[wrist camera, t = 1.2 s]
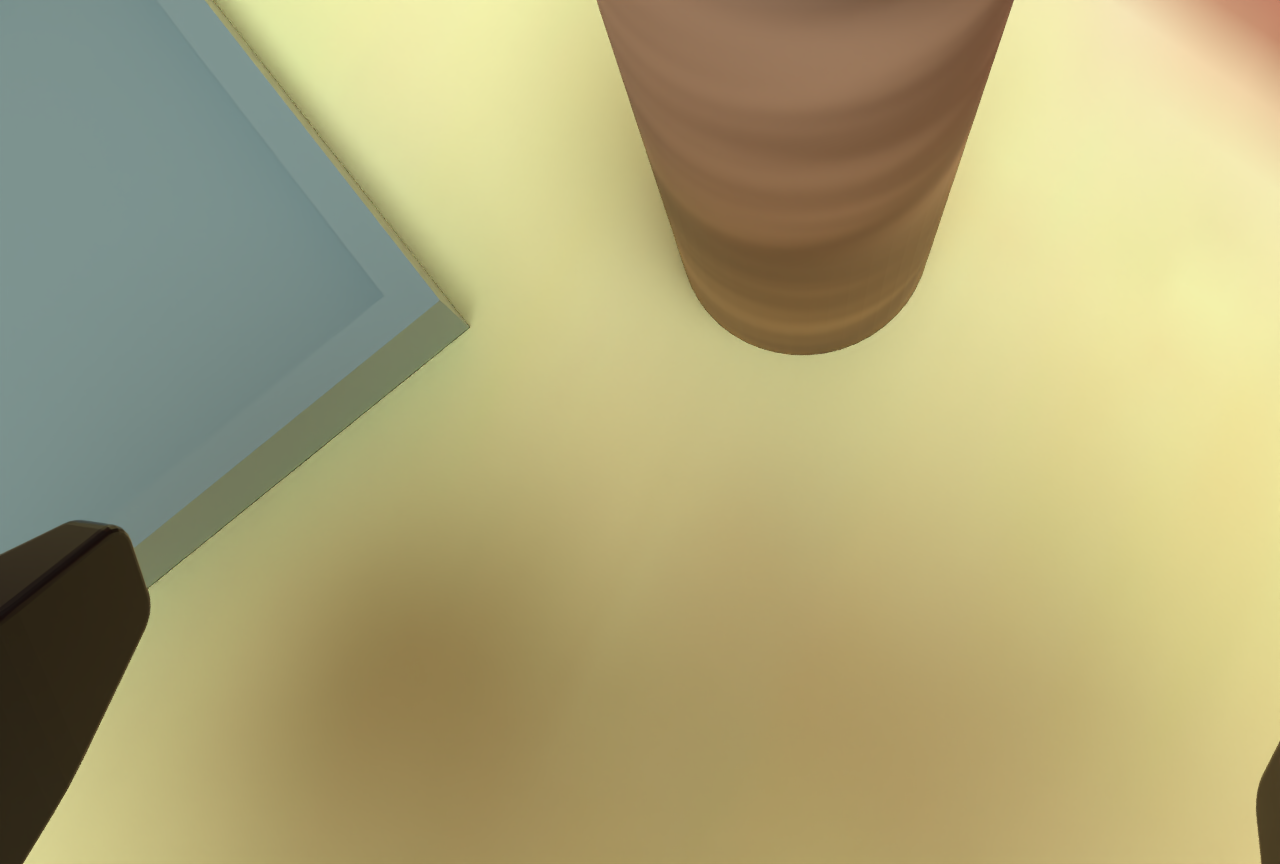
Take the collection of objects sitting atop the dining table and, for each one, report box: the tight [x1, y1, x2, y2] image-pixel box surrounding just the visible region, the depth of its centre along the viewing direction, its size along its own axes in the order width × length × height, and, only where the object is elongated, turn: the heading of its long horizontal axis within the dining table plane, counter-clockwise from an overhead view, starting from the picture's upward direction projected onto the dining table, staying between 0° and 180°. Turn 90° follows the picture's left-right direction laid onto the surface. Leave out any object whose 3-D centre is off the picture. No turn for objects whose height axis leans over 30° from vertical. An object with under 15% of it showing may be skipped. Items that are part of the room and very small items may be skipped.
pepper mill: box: [597, 0, 1014, 355], centre depth 17 cm, size 5×5×13 cm
